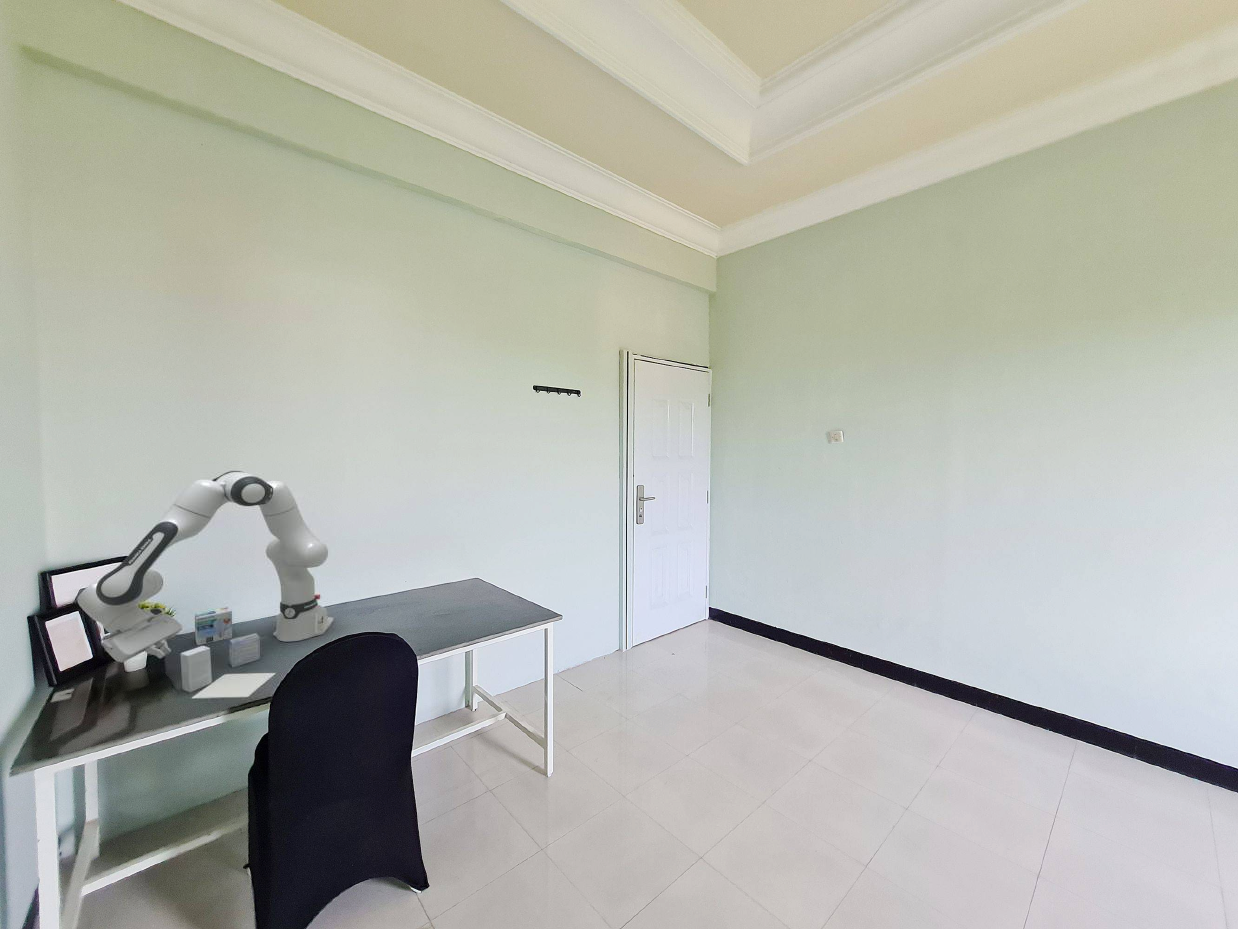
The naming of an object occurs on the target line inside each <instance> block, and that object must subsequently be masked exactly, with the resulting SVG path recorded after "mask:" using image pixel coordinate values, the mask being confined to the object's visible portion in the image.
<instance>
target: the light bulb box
mask: <svg viewBox="0 0 1238 929" xmlns="http://www.w3.org/2000/svg"><path fill="white" fill-rule="evenodd" d="M194 637H195V642H196V646H203V645H206V644H210V643H214V642H220V641H224V640H228V639H233V610H232V609H231V608H230V606H225V607H221V608H216V609H210V610H205V611H201V612H195V613H194ZM223 639H224V640H223ZM219 640H220V641H219Z"/></svg>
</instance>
